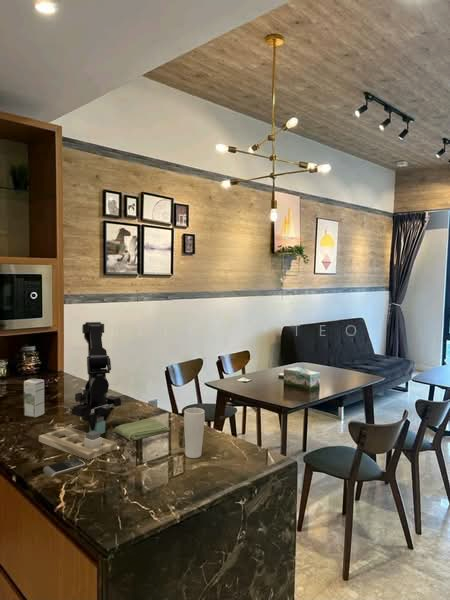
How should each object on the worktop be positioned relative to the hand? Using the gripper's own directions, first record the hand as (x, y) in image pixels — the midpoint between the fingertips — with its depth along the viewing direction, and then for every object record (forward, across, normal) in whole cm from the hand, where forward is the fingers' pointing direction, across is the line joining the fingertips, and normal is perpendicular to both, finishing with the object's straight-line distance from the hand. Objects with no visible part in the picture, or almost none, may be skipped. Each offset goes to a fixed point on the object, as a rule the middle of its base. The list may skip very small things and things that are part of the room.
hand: (97, 428), depth 166 cm
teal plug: (+2, 0, 0) cm, 2 cm away
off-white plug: (+2, +12, +12) cm, 17 cm away
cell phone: (+2, +26, +16) cm, 31 cm away
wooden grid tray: (+2, +12, +4) cm, 13 cm away
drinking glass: (+2, -5, +41) cm, 41 cm away
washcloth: (+2, -11, +12) cm, 17 cm away
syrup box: (+2, +2, -36) cm, 36 cm away
